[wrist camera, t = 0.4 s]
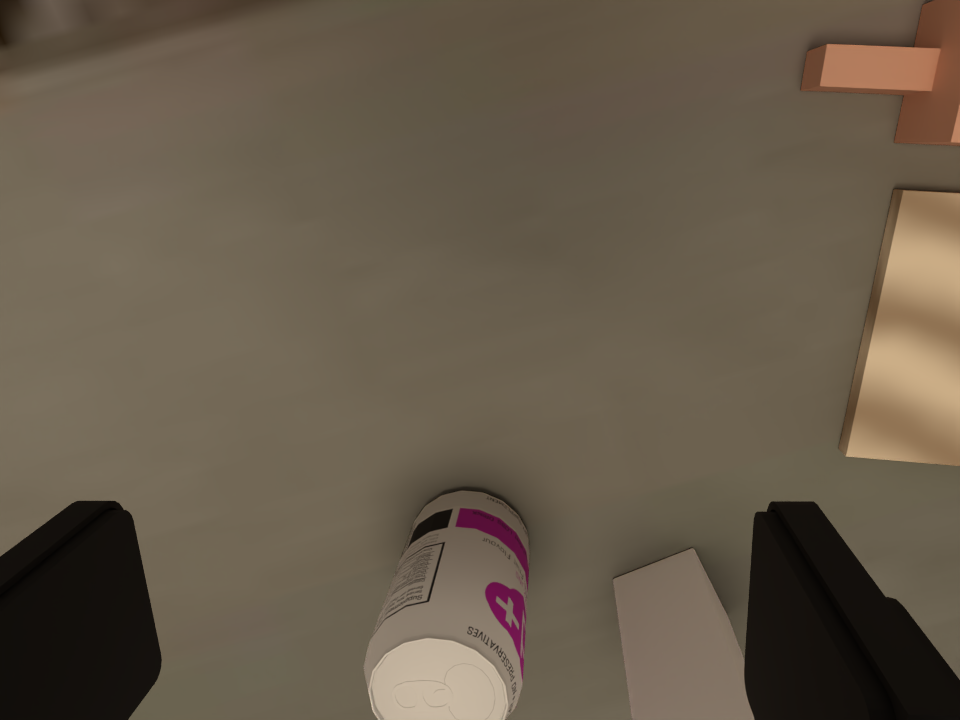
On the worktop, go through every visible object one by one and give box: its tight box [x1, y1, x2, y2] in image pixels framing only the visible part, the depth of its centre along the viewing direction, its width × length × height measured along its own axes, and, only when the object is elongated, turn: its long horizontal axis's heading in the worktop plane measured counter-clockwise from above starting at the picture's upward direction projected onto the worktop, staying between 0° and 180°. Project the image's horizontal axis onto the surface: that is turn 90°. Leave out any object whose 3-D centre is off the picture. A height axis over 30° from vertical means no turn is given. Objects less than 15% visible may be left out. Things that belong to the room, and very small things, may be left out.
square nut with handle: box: [801, 0, 960, 146], centre depth 36 cm, size 12×7×6 cm, turn 87°
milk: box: [613, 548, 755, 720], centre depth 39 cm, size 6×6×22 cm
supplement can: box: [364, 490, 530, 720], centre depth 43 cm, size 8×8×15 cm
